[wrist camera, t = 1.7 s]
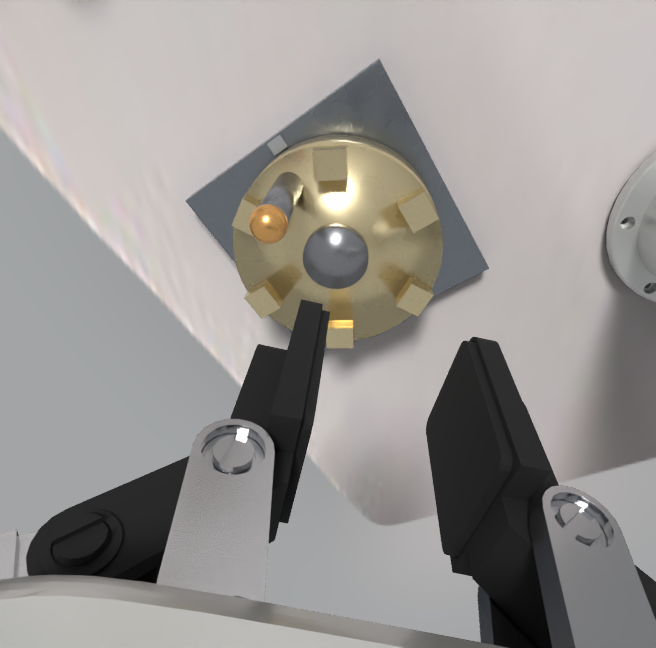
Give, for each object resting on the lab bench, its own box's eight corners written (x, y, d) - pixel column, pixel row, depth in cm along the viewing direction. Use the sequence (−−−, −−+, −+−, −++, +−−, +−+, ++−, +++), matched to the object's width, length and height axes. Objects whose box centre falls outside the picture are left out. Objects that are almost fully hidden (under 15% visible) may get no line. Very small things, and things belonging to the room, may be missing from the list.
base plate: (484, 259, 33) (490, 271, 31) (313, 346, 38) (310, 360, 37) (379, 58, 27) (379, 59, 25) (192, 194, 32) (183, 202, 31)
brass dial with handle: (470, 265, 32) (507, 353, 23) (314, 345, 36) (296, 443, 27) (373, 87, 26) (373, 113, 18) (204, 206, 31) (139, 273, 22)
